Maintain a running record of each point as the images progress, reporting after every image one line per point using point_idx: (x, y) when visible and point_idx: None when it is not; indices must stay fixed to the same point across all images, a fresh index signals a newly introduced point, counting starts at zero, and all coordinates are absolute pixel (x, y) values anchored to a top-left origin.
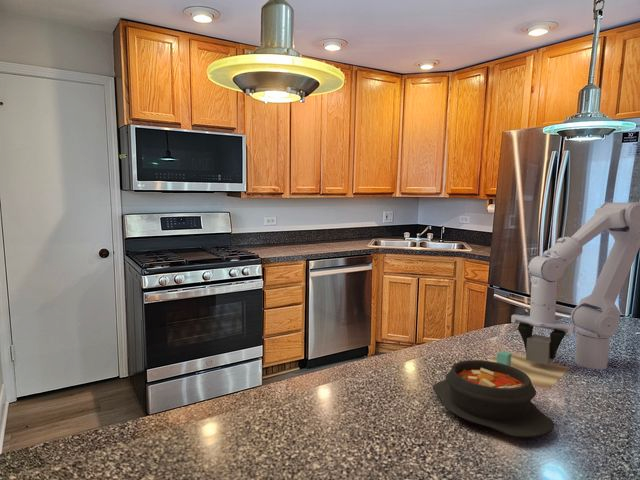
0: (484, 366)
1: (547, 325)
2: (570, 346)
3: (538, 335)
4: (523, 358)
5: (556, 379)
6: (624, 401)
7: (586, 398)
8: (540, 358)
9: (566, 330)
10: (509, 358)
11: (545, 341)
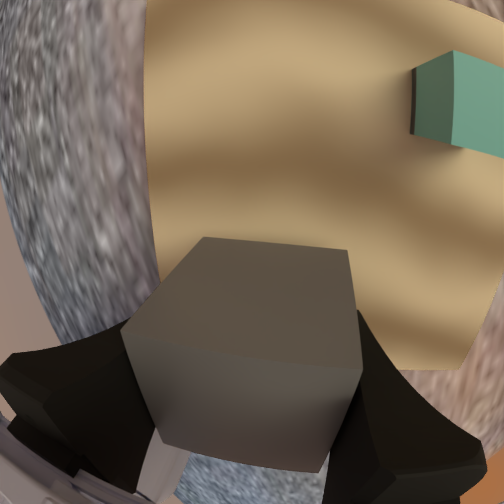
0: None
1: (33, 501)
2: (255, 480)
3: (278, 464)
4: None
5: (152, 145)
6: (8, 167)
7: (56, 85)
8: (242, 255)
9: (4, 437)
10: (438, 100)
11: (166, 367)
